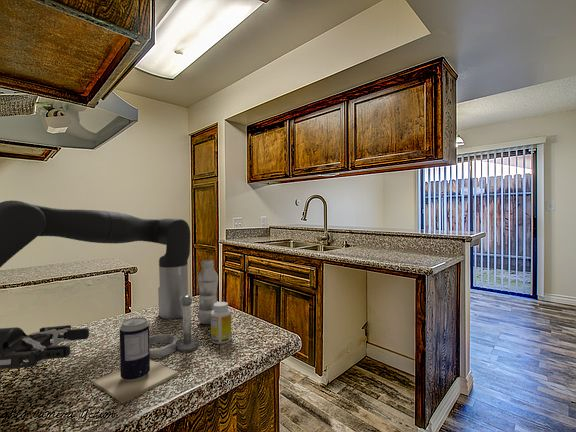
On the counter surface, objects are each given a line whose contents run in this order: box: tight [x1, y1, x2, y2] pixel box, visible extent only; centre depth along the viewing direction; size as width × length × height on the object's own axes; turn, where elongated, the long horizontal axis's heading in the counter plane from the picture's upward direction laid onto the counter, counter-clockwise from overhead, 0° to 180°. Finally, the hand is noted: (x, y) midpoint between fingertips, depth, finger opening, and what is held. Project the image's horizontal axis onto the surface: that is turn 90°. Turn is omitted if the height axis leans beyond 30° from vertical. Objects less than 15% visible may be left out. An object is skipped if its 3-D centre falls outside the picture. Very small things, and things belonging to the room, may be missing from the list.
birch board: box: [92, 359, 178, 405], centre depth 67 cm, size 12×12×1 cm
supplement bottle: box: [210, 301, 233, 345], centre depth 86 cm, size 6×6×10 cm
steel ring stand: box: [149, 295, 200, 359], centre depth 81 cm, size 13×13×14 cm
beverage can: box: [119, 316, 151, 382], centre depth 67 cm, size 6×6×12 cm
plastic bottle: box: [197, 259, 219, 325], centre depth 99 cm, size 6×7×20 cm
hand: (79, 341), depth 65 cm, fingers open, 8 cm apart
